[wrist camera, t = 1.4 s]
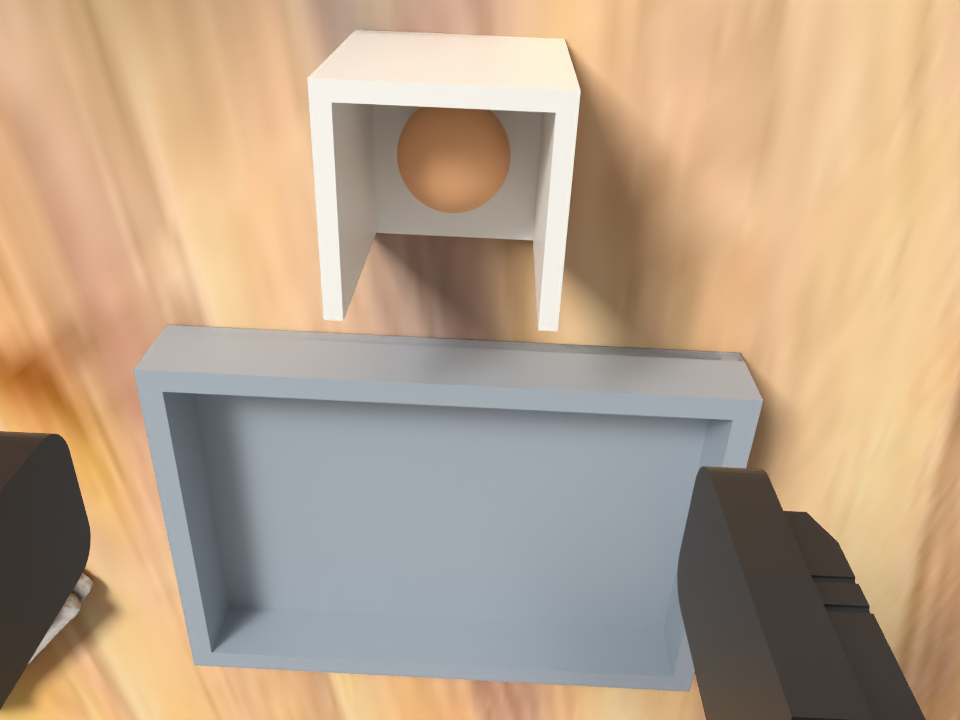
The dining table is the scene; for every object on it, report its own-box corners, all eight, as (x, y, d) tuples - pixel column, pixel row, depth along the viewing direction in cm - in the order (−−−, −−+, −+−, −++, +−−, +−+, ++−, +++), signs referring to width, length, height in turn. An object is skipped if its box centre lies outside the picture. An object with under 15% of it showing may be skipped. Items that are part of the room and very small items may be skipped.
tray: (740, 352, 29) (763, 400, 26) (677, 632, 36) (689, 691, 33) (167, 324, 29) (133, 369, 26) (217, 608, 36) (194, 665, 33)
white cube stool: (564, 38, 24) (580, 90, 18) (548, 235, 27) (557, 331, 21) (355, 29, 24) (307, 78, 18) (363, 226, 27) (323, 319, 21)
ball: (514, 78, 23) (512, 136, 21) (508, 175, 26) (506, 238, 23) (400, 73, 23) (388, 131, 21) (405, 171, 26) (393, 233, 23)
